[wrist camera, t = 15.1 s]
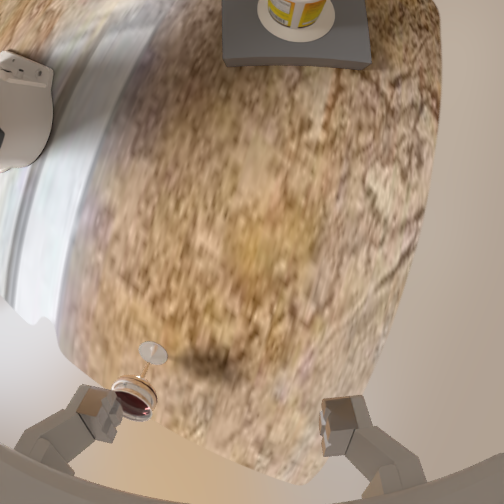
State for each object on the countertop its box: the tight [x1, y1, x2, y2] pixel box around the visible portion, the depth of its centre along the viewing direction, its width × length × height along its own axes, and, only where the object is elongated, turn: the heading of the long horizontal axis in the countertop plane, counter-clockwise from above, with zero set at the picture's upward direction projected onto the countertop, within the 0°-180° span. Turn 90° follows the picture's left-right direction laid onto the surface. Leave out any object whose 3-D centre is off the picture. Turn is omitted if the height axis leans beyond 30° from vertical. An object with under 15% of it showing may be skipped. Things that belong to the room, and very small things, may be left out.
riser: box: [222, 0, 372, 70], centre depth 26 cm, size 16×12×4 cm
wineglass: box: [111, 341, 167, 422], centre depth 40 cm, size 7×7×12 cm
